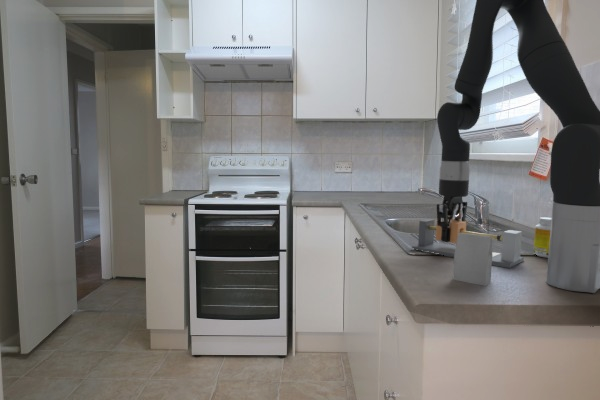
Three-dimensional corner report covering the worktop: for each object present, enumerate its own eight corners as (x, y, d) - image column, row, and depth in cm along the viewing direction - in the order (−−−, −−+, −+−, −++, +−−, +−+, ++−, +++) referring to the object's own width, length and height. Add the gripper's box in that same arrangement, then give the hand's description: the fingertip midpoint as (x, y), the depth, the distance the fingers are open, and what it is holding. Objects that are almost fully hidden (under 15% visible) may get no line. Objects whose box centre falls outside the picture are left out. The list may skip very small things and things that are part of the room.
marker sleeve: (465, 240, 119) (466, 221, 119) (456, 243, 116) (458, 223, 115) (444, 237, 124) (445, 219, 123) (435, 239, 120) (436, 220, 119)
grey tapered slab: (485, 285, 90) (489, 238, 89) (452, 279, 94) (455, 233, 93) (490, 281, 93) (493, 235, 92) (458, 275, 97) (461, 231, 96)
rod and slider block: (523, 261, 112) (525, 230, 111) (509, 268, 105) (511, 235, 104) (429, 244, 130) (430, 217, 129) (412, 249, 122) (413, 221, 122)
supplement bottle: (549, 259, 114) (553, 220, 113) (529, 254, 119) (531, 217, 118) (560, 256, 117) (564, 219, 116) (539, 252, 122) (542, 216, 121)
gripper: (455, 180, 110) (451, 246, 112) (478, 178, 120) (474, 238, 122) (428, 178, 115) (425, 241, 117) (452, 176, 126) (449, 235, 127)
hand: (450, 239), depth 120 cm, fingers closed on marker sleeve, 5 cm apart
